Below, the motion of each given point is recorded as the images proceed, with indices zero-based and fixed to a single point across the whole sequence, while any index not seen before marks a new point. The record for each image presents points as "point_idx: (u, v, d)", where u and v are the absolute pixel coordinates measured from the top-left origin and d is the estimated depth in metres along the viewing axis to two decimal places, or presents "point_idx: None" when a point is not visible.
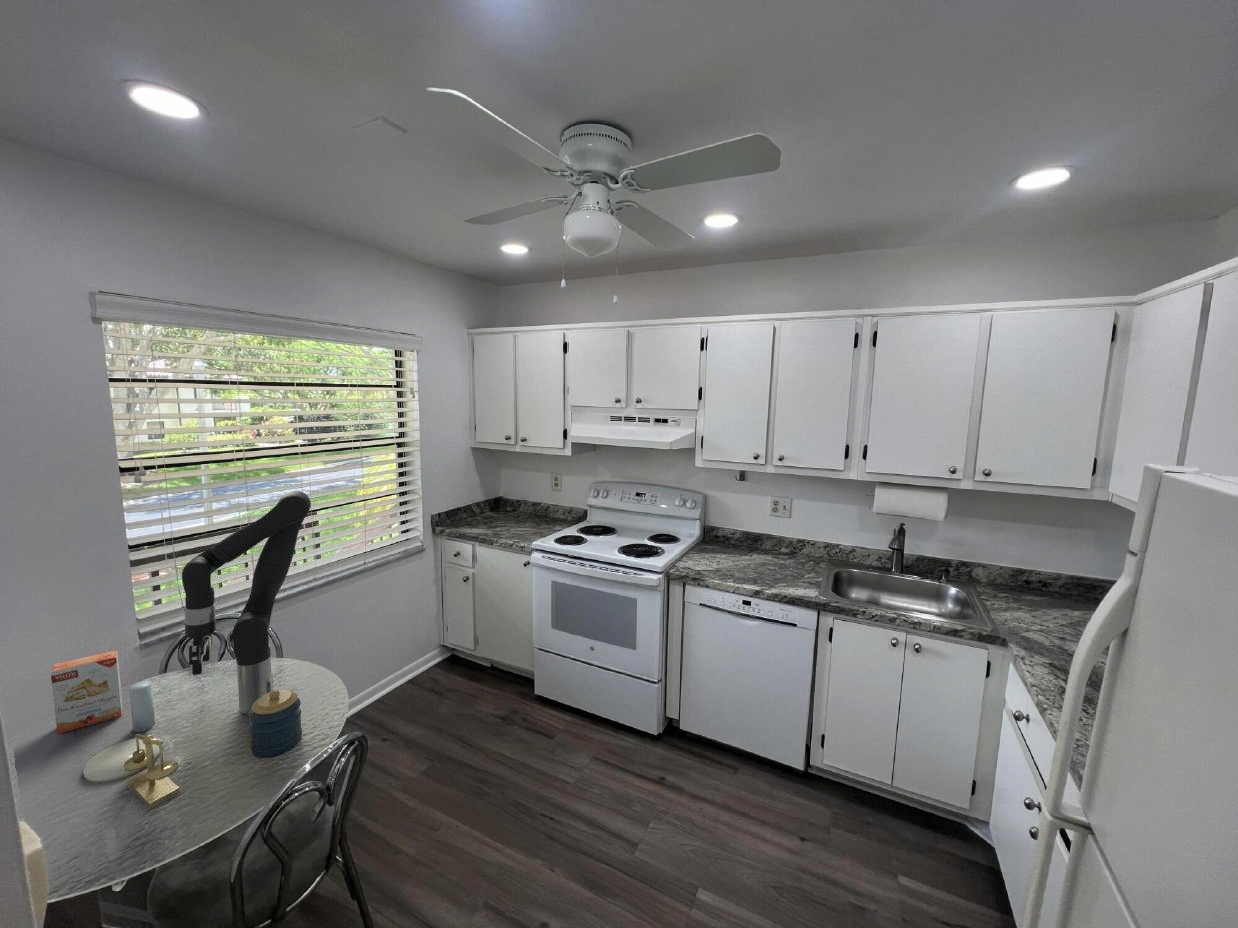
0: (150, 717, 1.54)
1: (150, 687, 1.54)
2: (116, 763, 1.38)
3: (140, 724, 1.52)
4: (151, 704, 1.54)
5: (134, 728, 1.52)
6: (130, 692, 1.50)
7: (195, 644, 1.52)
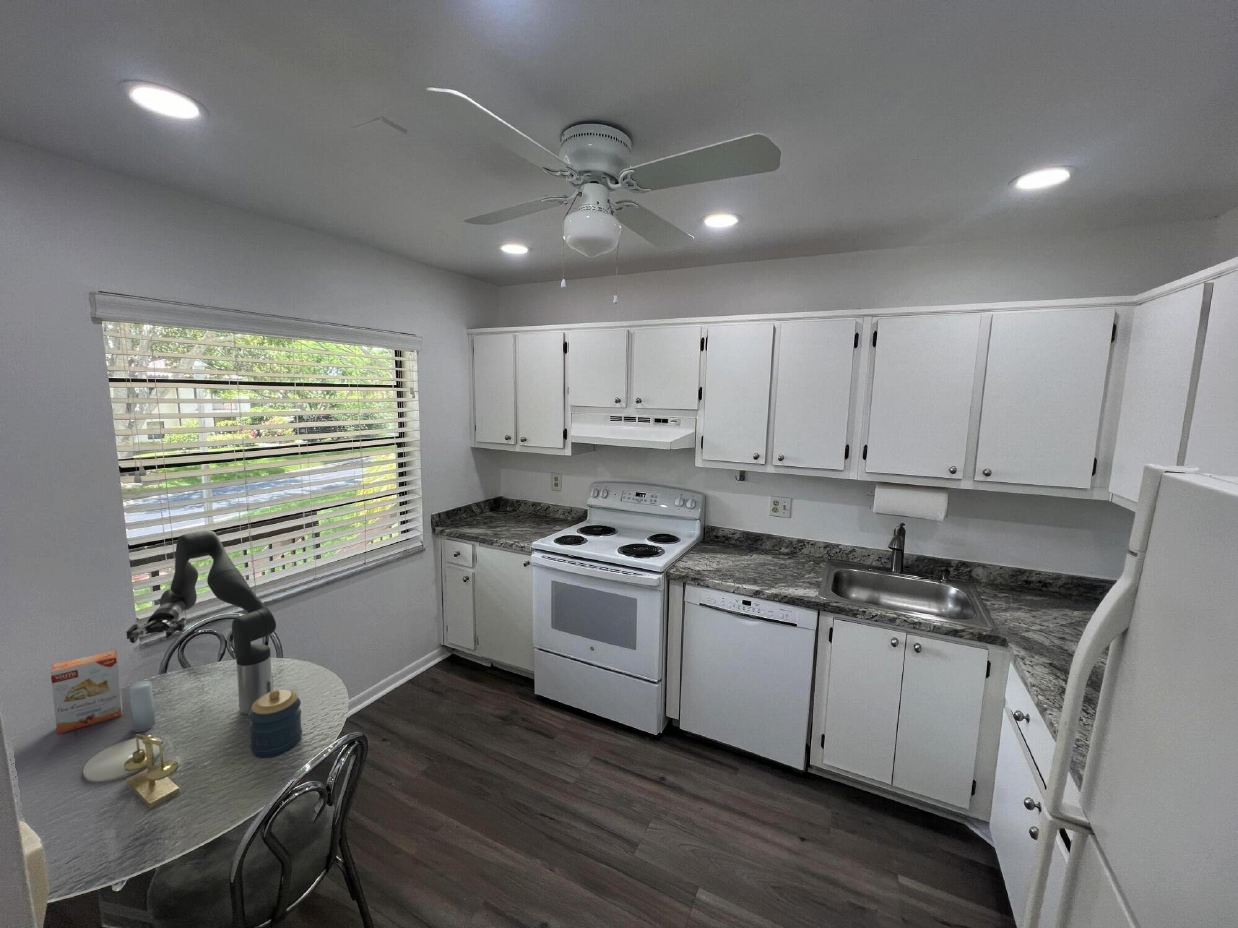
0: (150, 717, 1.54)
1: (150, 687, 1.54)
2: (116, 763, 1.38)
3: (140, 724, 1.52)
4: (151, 704, 1.54)
5: (134, 728, 1.52)
6: (130, 692, 1.50)
7: None
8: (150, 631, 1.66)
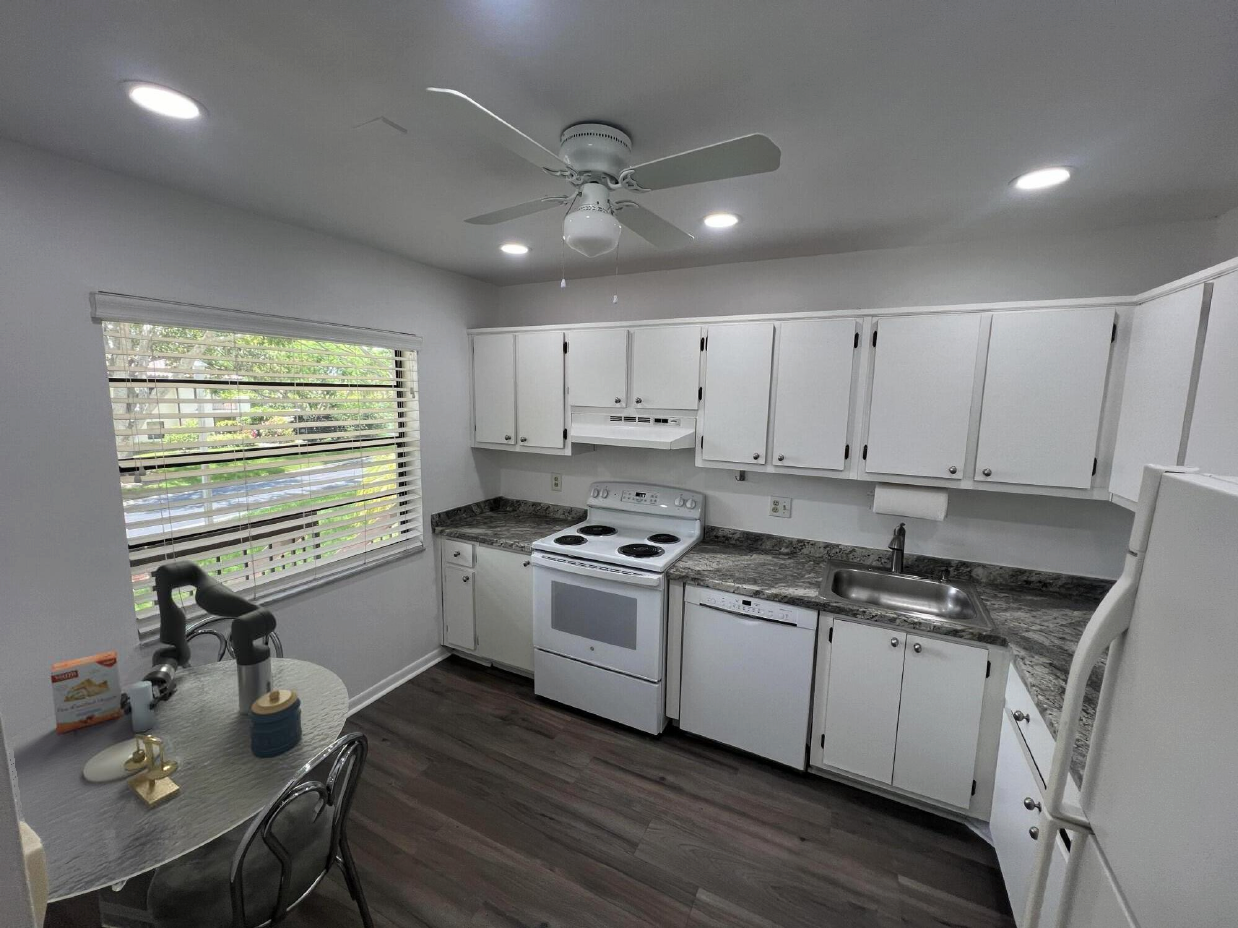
0: (150, 717, 1.54)
1: (150, 687, 1.54)
2: (116, 763, 1.38)
3: (140, 724, 1.52)
4: None
5: (134, 728, 1.52)
6: (130, 692, 1.50)
7: None
8: None
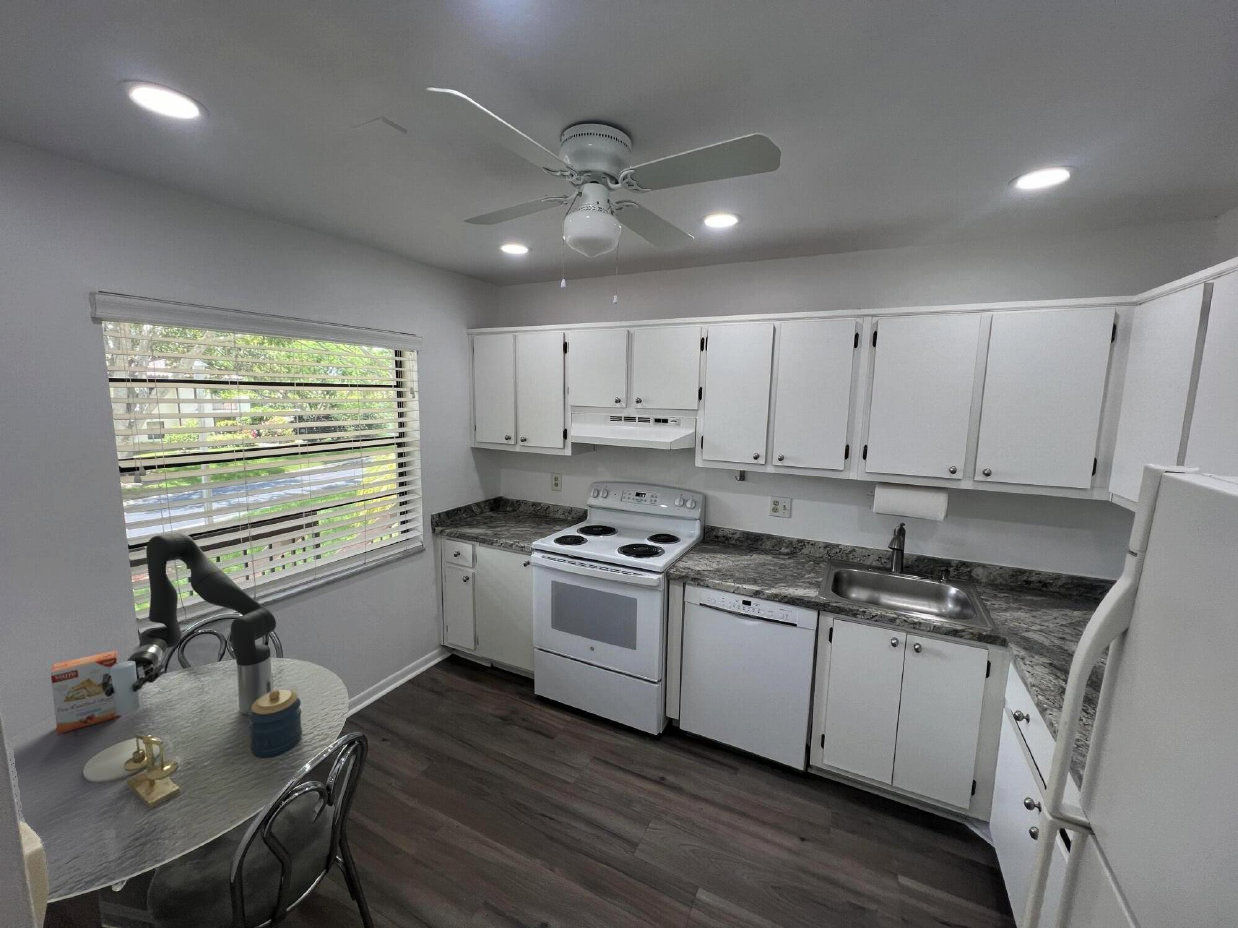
0: (134, 699, 1.43)
1: (134, 667, 1.43)
2: (116, 763, 1.38)
3: (123, 707, 1.41)
4: None
5: (116, 711, 1.41)
6: (112, 672, 1.40)
7: None
8: None
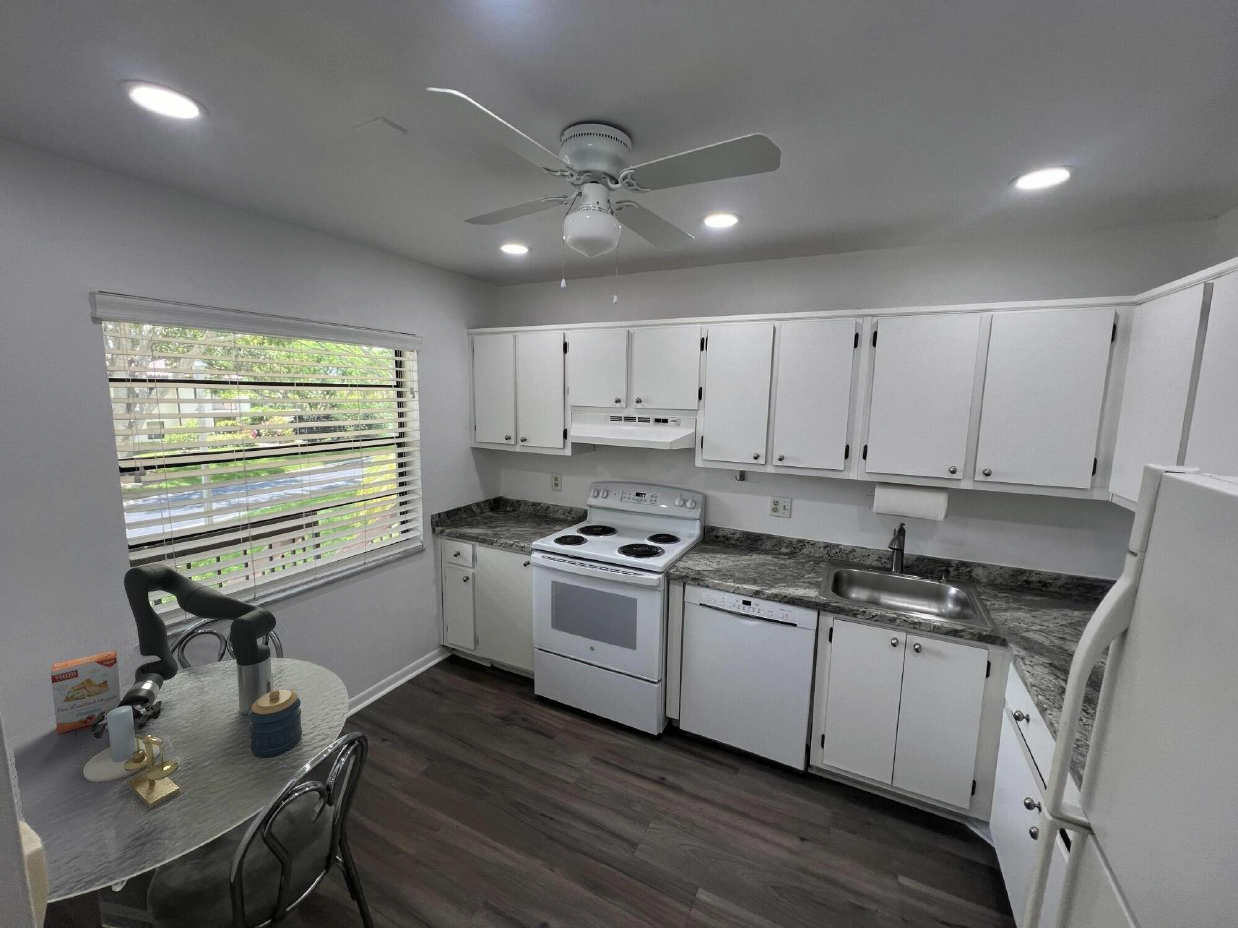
0: (131, 745, 1.40)
1: (130, 713, 1.39)
2: (116, 763, 1.38)
3: (120, 754, 1.38)
4: (132, 731, 1.40)
5: (113, 758, 1.38)
6: (108, 719, 1.36)
7: None
8: None
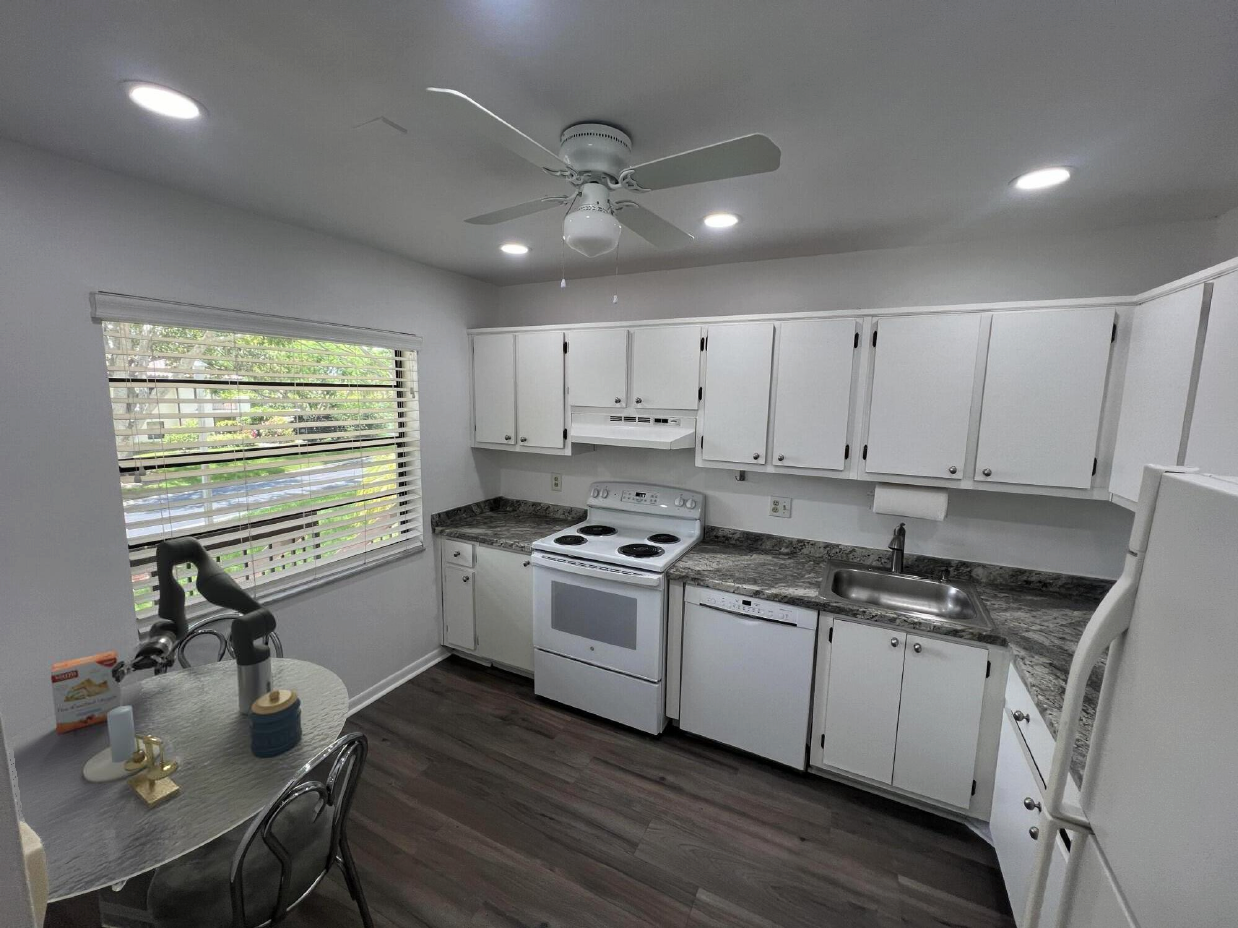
0: (131, 745, 1.40)
1: (130, 712, 1.40)
2: (116, 763, 1.38)
3: (120, 754, 1.38)
4: (132, 731, 1.40)
5: (113, 758, 1.38)
6: (108, 718, 1.37)
7: None
8: (137, 668, 1.55)
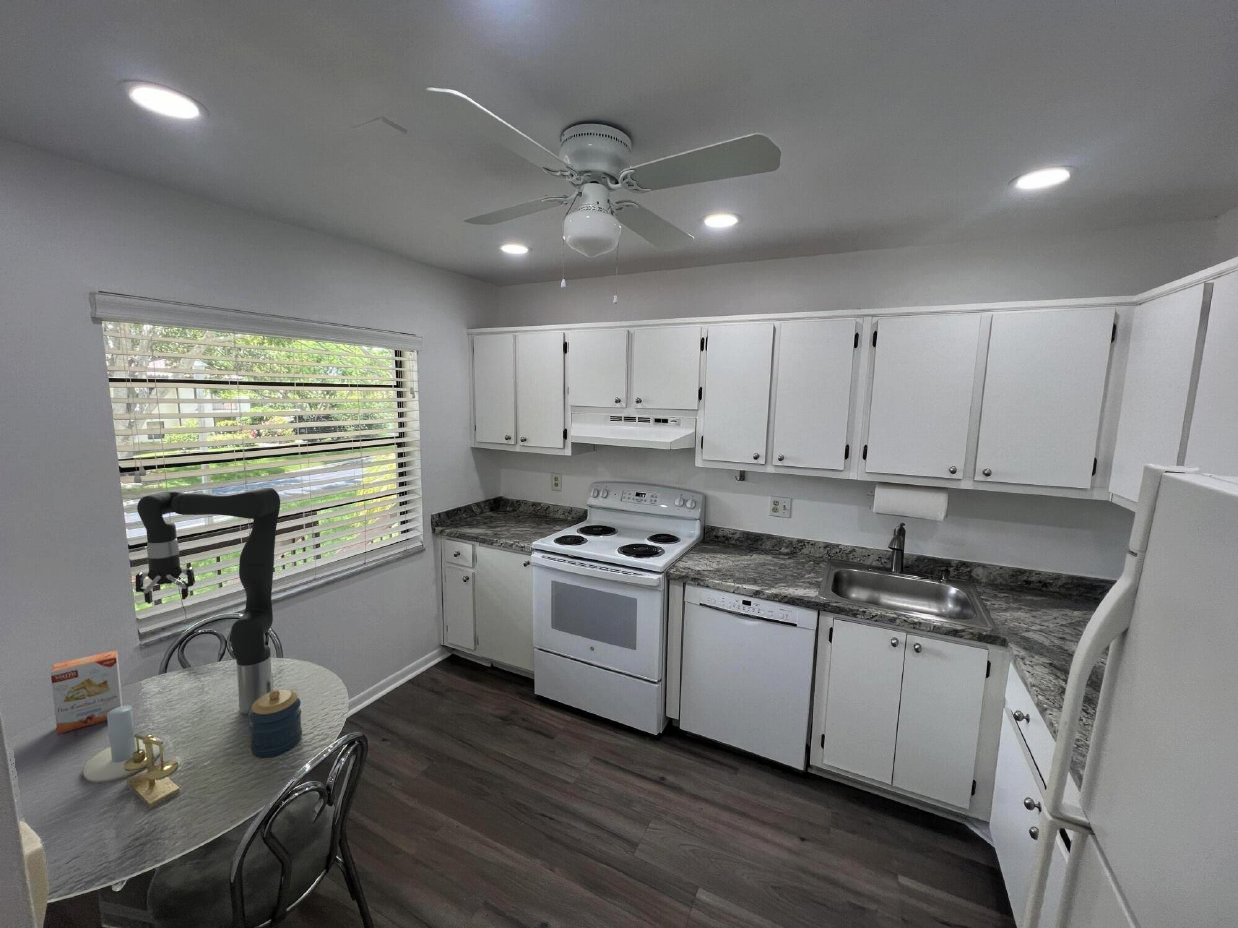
0: (131, 745, 1.40)
1: (130, 712, 1.40)
2: (116, 763, 1.38)
3: (120, 754, 1.38)
4: (132, 731, 1.40)
5: (113, 758, 1.38)
6: (108, 718, 1.37)
7: (143, 573, 1.58)
8: None
